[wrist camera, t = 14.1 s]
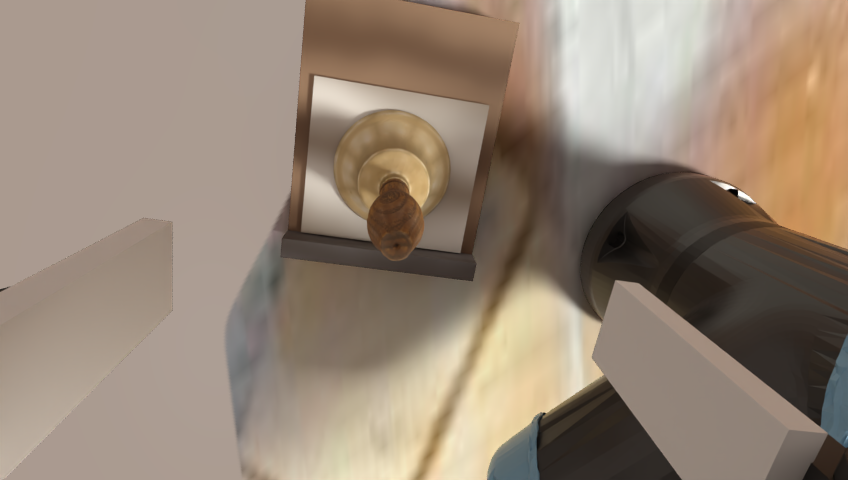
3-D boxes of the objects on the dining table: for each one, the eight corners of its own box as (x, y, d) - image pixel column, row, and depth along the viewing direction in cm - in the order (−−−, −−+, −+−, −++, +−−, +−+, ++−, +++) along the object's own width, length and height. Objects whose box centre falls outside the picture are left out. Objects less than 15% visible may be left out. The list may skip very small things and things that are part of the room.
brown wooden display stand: (314, -9, 32) (301, -25, 28) (508, 28, 34) (527, 18, 29) (294, 235, 38) (280, 257, 33) (462, 257, 39) (472, 281, 35)
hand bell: (474, 170, 34) (541, 239, 18) (392, 247, 35) (394, 370, 20) (392, 83, 31) (393, 80, 16) (309, 169, 33) (238, 240, 18)
